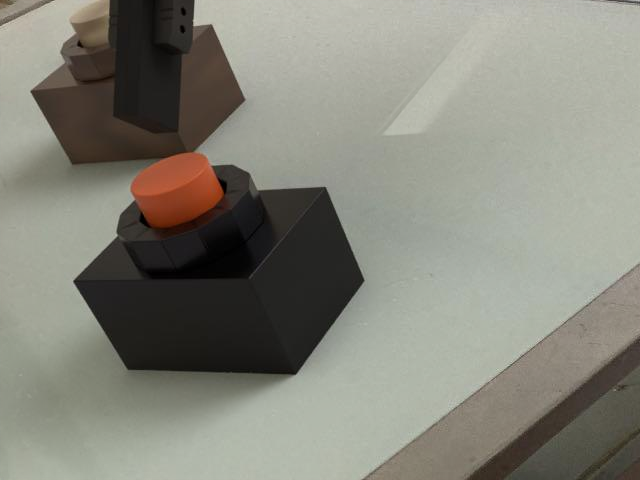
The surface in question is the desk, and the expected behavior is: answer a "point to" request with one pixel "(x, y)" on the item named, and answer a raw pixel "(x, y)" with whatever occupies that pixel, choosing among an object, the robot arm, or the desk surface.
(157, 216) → the front button
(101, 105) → the back block
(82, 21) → the back button
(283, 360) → the front block
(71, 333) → the desk surface
